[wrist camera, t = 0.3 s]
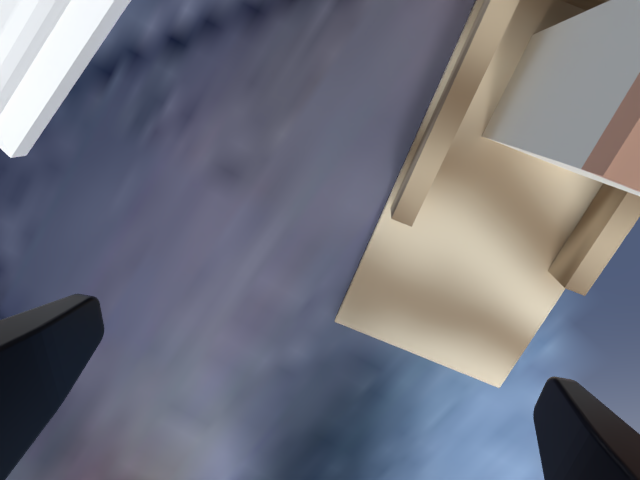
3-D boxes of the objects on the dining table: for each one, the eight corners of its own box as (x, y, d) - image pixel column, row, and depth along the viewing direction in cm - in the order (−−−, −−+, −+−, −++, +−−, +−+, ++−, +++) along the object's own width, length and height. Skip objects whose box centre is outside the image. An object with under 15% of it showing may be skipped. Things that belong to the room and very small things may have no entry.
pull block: (572, 172, 19) (804, 255, 9) (481, 136, 19) (602, 176, 9) (631, 73, 17) (999, 30, 7) (532, 34, 17) (754, -65, 7)
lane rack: (497, 382, 23) (516, 427, 20) (335, 317, 24) (328, 352, 20) (723, 37, 17) (806, 21, 14) (498, -51, 17) (526, -87, 14)
